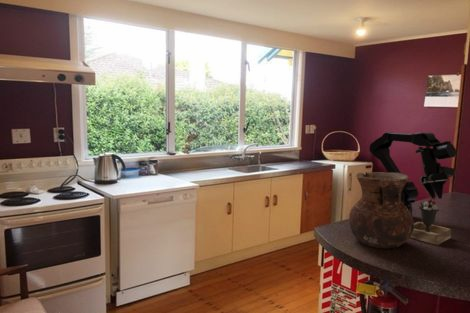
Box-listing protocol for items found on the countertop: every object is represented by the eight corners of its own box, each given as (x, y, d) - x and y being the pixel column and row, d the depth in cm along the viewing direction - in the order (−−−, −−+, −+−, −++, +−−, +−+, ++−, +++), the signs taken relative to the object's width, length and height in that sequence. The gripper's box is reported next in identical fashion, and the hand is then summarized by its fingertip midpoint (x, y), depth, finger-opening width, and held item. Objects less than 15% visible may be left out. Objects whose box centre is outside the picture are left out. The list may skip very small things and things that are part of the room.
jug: (335, 235, 138) (339, 170, 135) (379, 230, 146) (383, 168, 143) (377, 257, 118) (382, 181, 115) (426, 249, 125) (432, 178, 122)
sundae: (441, 236, 137) (444, 196, 135) (428, 238, 134) (431, 197, 132) (426, 230, 143) (429, 193, 141) (413, 232, 140) (416, 194, 138)
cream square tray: (404, 236, 139) (404, 227, 139) (417, 230, 147) (418, 221, 146) (437, 245, 130) (438, 235, 129) (450, 238, 138) (451, 229, 137)
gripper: (458, 156, 143) (466, 196, 141) (443, 161, 161) (450, 196, 159) (428, 160, 145) (435, 199, 143) (416, 164, 163) (422, 199, 161)
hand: (436, 198), depth 152 cm, fingers open, 9 cm apart
